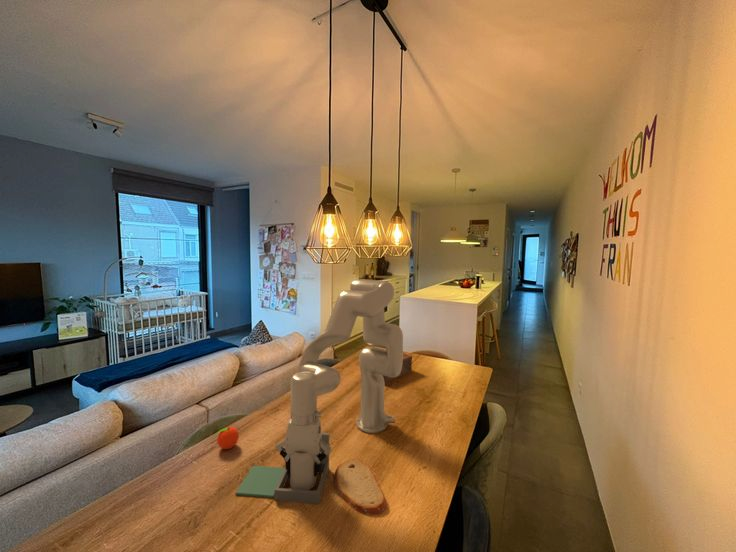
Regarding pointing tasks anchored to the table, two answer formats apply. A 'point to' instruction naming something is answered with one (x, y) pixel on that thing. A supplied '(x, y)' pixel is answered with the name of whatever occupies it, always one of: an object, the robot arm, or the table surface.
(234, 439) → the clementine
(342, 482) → the slice of bread
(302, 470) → the can
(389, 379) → the tissue box cover
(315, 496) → the grey open box
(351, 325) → the robot arm
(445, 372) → the table surface
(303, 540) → the table surface
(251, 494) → the mat
